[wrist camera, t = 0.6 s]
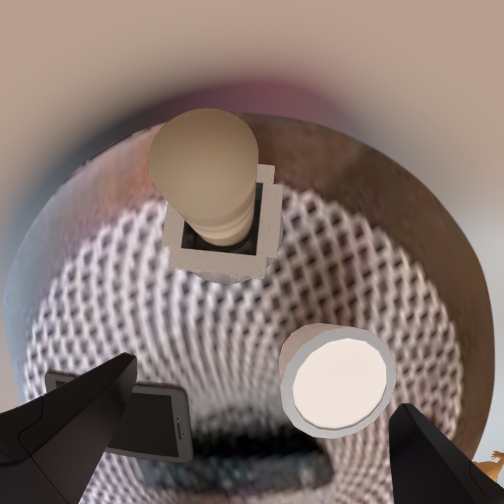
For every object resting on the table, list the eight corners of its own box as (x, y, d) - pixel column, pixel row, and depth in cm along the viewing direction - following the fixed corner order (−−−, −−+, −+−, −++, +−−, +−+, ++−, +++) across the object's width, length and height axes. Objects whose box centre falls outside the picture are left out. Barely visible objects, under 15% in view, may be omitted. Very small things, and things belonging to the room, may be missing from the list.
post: (250, 255, 21) (254, 215, 9) (197, 249, 21) (136, 205, 9) (255, 203, 21) (264, 110, 9) (203, 198, 21) (159, 106, 9)
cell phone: (46, 369, 21) (42, 371, 21) (187, 385, 22) (185, 388, 21) (60, 437, 21) (57, 440, 20) (195, 460, 21) (194, 464, 20)
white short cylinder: (257, 333, 22) (262, 354, 15) (342, 301, 22) (381, 307, 15) (286, 411, 21) (301, 456, 14) (366, 379, 22) (406, 408, 15)
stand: (276, 289, 22) (285, 290, 17) (169, 277, 22) (146, 275, 17) (285, 184, 23) (295, 156, 18) (183, 175, 23) (167, 146, 18)
